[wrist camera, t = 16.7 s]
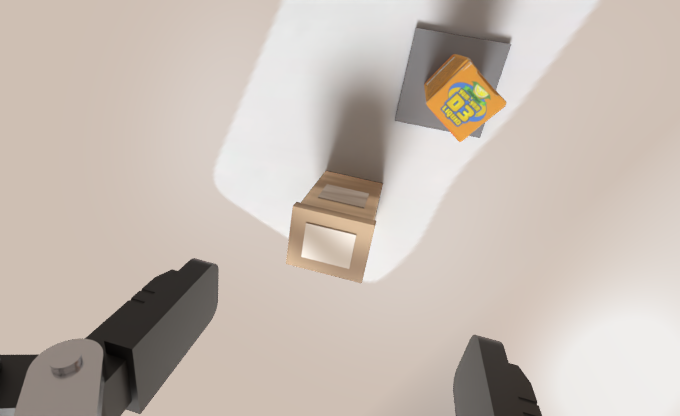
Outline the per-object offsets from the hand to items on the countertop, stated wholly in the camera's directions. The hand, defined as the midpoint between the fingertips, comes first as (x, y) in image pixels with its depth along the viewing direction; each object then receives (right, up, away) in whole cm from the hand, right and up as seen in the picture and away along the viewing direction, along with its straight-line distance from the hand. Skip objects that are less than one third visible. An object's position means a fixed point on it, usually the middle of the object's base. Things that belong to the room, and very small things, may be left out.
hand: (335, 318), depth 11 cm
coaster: (+9, +13, +17) cm, 23 cm away
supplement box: (+9, +13, +17) cm, 23 cm away
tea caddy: (+1, +4, +23) cm, 23 cm away
